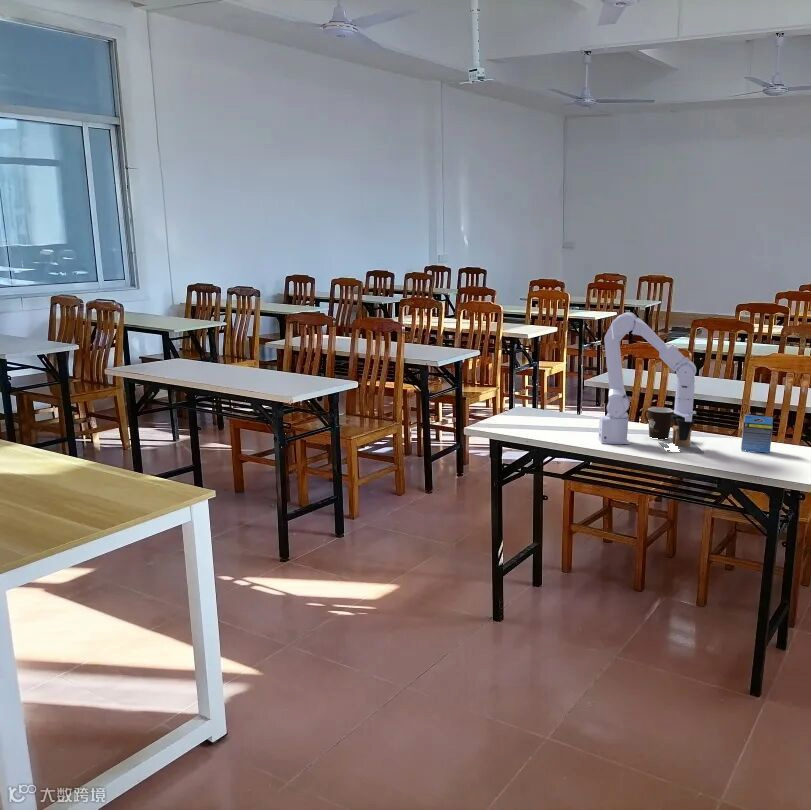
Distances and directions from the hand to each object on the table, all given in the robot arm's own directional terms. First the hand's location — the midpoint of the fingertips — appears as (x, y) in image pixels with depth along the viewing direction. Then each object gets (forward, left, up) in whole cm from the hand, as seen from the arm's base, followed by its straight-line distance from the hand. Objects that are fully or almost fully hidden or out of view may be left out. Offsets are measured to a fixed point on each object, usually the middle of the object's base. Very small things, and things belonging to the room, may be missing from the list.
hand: (681, 438), depth 276 cm
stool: (0, 0, -2) cm, 2 cm away
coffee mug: (-4, +16, -4) cm, 17 cm away
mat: (0, 0, -3) cm, 3 cm away
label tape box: (+24, -1, -4) cm, 24 cm away
